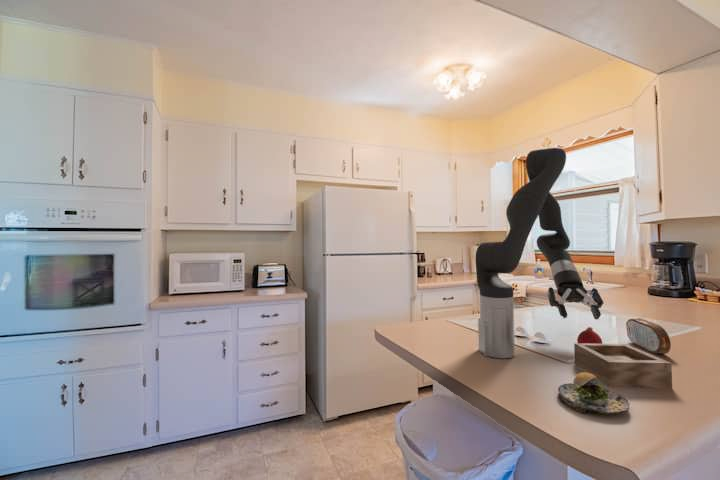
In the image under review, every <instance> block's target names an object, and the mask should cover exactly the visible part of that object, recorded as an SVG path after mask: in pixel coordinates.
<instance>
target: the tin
mask: <svg viewBox="0 0 720 480" xmlns="http://www.w3.org/2000/svg"><path fill="white" fill-rule="evenodd" d="M625 325H626V326H625V327H626V335H627V338H629V340H630V341H631V342H632V344H634V345H635V344H636V345H635V346H637V347H639V348H642V349H644V350H646V351H648V352H649V353H650V354H654V355H655V354H656V355H657V354H660V355H661V354H662V355H666V354H668V353H669V352H670V350H671V346H672V343H671V339H670V336H669V334H668V332H667V331H666V329H665V328H664V327H663V326H661V325H660V324H657V323H655V322H652V321H648V320H647V319H643V318H641V317H639V318H638V317H637V318H630V319H627V321H626V324H625Z"/></svg>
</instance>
